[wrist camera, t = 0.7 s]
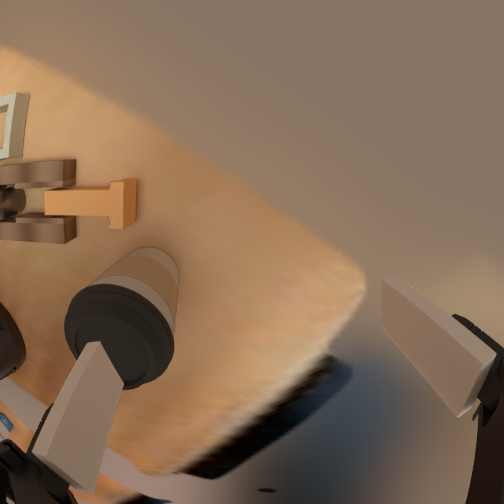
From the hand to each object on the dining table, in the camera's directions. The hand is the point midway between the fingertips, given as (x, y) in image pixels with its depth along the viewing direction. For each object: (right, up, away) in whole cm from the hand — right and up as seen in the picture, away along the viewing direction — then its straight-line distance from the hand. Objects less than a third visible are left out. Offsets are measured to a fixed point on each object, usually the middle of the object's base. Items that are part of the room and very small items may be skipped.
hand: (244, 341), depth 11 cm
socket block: (-27, +10, +14) cm, 32 cm away
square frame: (-32, +20, +10) cm, 39 cm away
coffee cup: (-11, +1, +19) cm, 22 cm away
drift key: (-17, +10, +15) cm, 25 cm away
